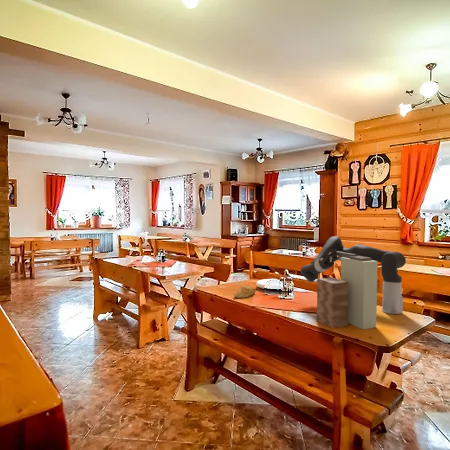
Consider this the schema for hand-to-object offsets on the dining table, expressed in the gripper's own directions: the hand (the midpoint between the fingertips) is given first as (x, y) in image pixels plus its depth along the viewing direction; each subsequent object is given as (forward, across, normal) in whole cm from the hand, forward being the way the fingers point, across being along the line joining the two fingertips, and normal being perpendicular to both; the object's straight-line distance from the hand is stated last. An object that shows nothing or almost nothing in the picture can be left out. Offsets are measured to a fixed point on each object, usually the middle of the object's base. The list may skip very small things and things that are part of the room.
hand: (341, 251), depth 176 cm
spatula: (+5, 0, -5) cm, 7 cm away
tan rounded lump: (-66, +30, -2) cm, 73 cm away
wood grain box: (-10, +12, -34) cm, 37 cm away
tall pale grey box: (-6, 0, -36) cm, 36 cm away
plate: (-76, +1, +4) cm, 76 cm away
